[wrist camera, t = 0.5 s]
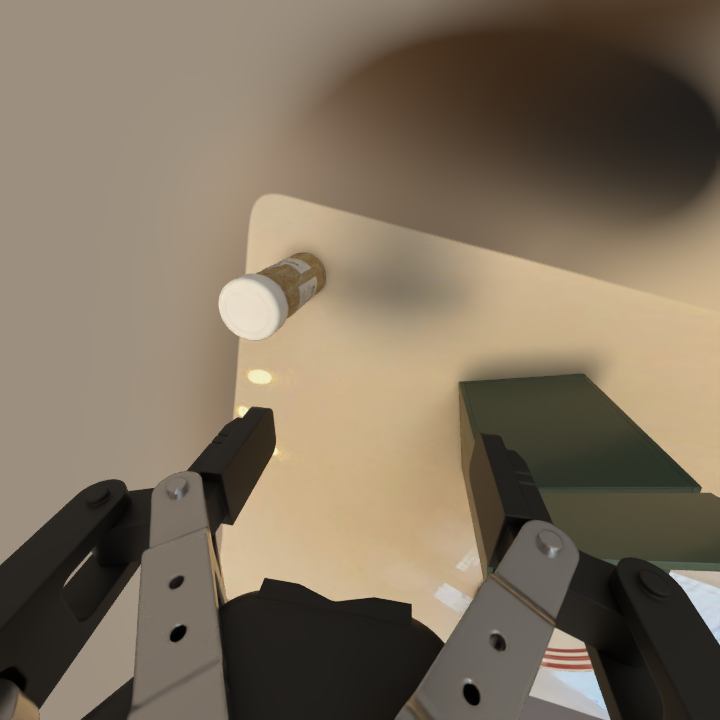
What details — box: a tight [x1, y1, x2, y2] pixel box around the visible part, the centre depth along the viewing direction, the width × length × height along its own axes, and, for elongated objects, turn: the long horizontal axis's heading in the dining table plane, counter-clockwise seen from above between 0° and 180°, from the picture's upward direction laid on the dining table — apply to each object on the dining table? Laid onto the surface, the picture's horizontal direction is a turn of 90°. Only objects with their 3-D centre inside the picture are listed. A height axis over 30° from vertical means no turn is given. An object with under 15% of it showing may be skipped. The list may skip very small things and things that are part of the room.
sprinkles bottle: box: [219, 253, 325, 341], centre depth 28 cm, size 5×5×14 cm
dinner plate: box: [540, 628, 594, 672], centre depth 50 cm, size 27×27×3 cm
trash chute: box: [459, 374, 702, 581], centre depth 31 cm, size 13×13×16 cm
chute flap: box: [540, 493, 720, 572], centre depth 18 cm, size 6×13×1 cm
